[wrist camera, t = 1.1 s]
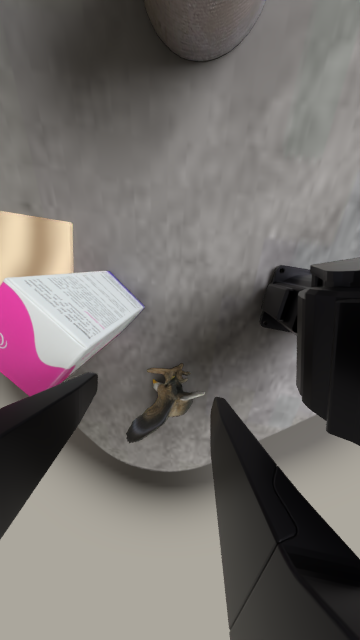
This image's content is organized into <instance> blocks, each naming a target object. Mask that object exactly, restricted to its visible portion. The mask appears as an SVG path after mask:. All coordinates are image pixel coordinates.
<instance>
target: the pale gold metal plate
mask: <svg viewBox="0 0 360 640" xmlns="http://www.w3.org/2000/svg"><path fill="white" fill-rule="evenodd" d="M68 273H73V223H70V222H64V221H58V220H52V219H46V218H40V217H34V216H28V215H22V214H15V213H9V212H3V211H0V285H1V284H2V282H3V280H4V279H5V278H10V277H26V276H40V275H54V274H68Z"/></svg>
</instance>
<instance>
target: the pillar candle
mask: <svg viewBox="0 0 360 640" xmlns="http://www.w3.org/2000/svg"><path fill="white" fill-rule="evenodd" d="M265 1H266V0H144V3H145V8H146V11H147V13H148V16H149V18H150V21H151V23H152V25H153V27H154V29H155V31H156V33H157V34H158V36H159V37H160V39H161V40H162V41H163V42H164V43H165V44H166V46H168V47H169V48H170V50H171V51H173V52H174V53H176V54H177V55H179V56H180V57H182V58H186V59H188V60H195V61H208V60H212V59H215V58H218V57H220V56H222V55H224V54H226V53H228V52H230V51H231V50H232V49H233V48H234V47H235V46H237V45H238V44H239V43H240V42H241V41H242V40H243V38H245V37H246V36H247V34H248V33H249V32H250V30H251V29H252V27H253V26H254V24H255V22H256V21H257V19H258V17H259V15H260V14H261V11H262V9H263V7H264V4H265Z"/></svg>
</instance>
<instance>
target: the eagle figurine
mask: <svg viewBox="0 0 360 640" xmlns="http://www.w3.org/2000/svg"><path fill="white" fill-rule="evenodd" d="M182 367H183V364H182V363H181V364H180V365H179V366H176V367H174V368H172V369H163V368H150V369H147V372H151V373H157V374H159V373H161V374H163V375H164V376H165V380H166V382H165V384H162V383H159V382H156V381H155V380H154V379H153V387H154V389H155V390H156V391H157V392H158V398H157V400H156V402H155V403H154V405H153V406H151V407H150V408H148V409H147V410H146V411H145V412H144V413H143V414H142V415H140V416H139V417H137V418H136V419H135V420H134V421H133V422H132V425H131V426H130V428H129V430H128V432H127V433H126V435H127V439H128V440H127V441H129V443H131V442H132V443H133V442H137V441H140V440H142V439H143V438H145V437H146V436H148V435H149V434H151V433H152V432H154V431H155V430H157V429H158V428H159V427H160V426H162V425H163V424H164V423H165V422H166V420H167V419H168V417H170V416H172V417H174V416H176V417H177V416H180V415H183V414H185V413H186V412H187V410H188V409H189V408H190V406H191V404H192V402H193V401H192V400H193V398H195V397H199V396H203V395H204V394H205V392H200V391H196V392H191V393H188V392H183V389H182V385H181V384H183V383H184V382H186V381H187V380H188V378H185V379H183V378H182V377H181V375H186V376H187V375H190V374H191V373H190V372H184V371H182ZM167 383H168V384H167Z"/></svg>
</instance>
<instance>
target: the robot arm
mask: <svg viewBox="0 0 360 640" xmlns="http://www.w3.org/2000/svg"><path fill="white" fill-rule="evenodd" d="M281 268H282V269H283V272H282V273H280V272H279V270H280V269H281ZM261 308H262V310H263V312H262V315H261V318H260V325H261V326H262V327H265V328H271V329H277V330H282V331H288V332H292V333H294V334H295V335H297V376H296V385H297V388H298V390H299V392H300V395H301V396H302V401H303V403H304V404H305V405H306V406H307V407H308V408H309V409H310V410H312V411H313V412H314V413H316V414H317V415H319V416H320V417H322V418H323V419H324V420H326V421H327V424H326V431H327V432H328V433H330V434H332V435H335V436H337V437H340V438H343V439H346V440H348V441H351V442H353V443H355V444H357V445H359V446H360V257H359V258H353V259H346V260H340V261H334V262H327V263H321V264H314V265H311V268H310V270H308V269H302V268H296V267H290V266H284V265H280V266H278V267H277V268H276V269H275V272H274V276H273V279H272V282H271V284H269V285H268V287H267V291H266V294H265V297H264V301H263V304H262V307H261ZM264 321H267V322H266V324H263V322H264ZM97 384H98V375H97V374H96V373H91V372H88V373H85V374H83V375H80V376H78V377H76V378H73V379H71V380H68V381H66V382H63V383H61V384H59V385H56V386H54V387H51V388H49V389H46V390H44V391H42V392H39V393H37V394H34V395H32V396H29V397H27V398H24V399H22V400H20V401H17V402H15V403H12V404H10V405H7V406H5V407H3V408H1V409H0V539H1V537H2V536H3V535H4V533H5V532H6V530H7V529H8V527H9V526H10V525H11V523H12V521H13V520H14V519H15V517H16V516H17V514H18V513H19V511H20V510H21V508H22V507H23V506H24V504H25V502H26V501H27V500H28V498H29V497H30V495H31V494H32V492H33V491H34V489H35V488H36V486H37V485H38V483H39V482H40V481H41V479H42V477H43V476H44V475H45V473H46V472H47V470H48V469H49V467H50V466H51V464H52V463H53V461H54V460H55V458H56V457H57V455H58V454H59V452H60V451H61V449H62V448H63V447H64V445H65V444H66V442H67V441H68V439H69V438H70V437H71V435H72V434H73V432H74V431H75V429H76V428H77V426H78V425H79V423H80V421H81V420H82V418H83V416H84V414H85V412H86V410H87V409H88V407H89V405H90V403H91V401H92V399H93V398H94V396H95V394H96V392H97ZM211 460H212V469H213V479H214V488H215V498H216V508H217V516H218V527H219V536H220V545H221V555H222V564H223V574H224V584H225V593H226V602H227V612H228V622H229V629H230V640H360V559H359V558H358V557H357V556H356V555H355V553H354V552H353V551H352V550H351V549H350V548H349V547H348V546H347V545H346V544H345V542H344V541H343V540H342V539H341V538H340V537H339V536H338V535H337V534H336V533H335V531H334V530H333V529H332V528H331V527H330V526H329V525H328V524H327V523H326V522H325V520H324V519H323V518H322V517H321V516H320V515H319V514H318V513H317V512H316V510H315V509H314V508H313V507H312V506H311V505H310V504H309V503H308V501H307V500H306V499H305V498H304V497H303V496H302V495H301V493H300V492H299V491H298V490H297V489H296V487H295V486H294V485H293V484H292V483H291V481H290V480H289V479H288V478H287V477H286V475H285V474H284V473H283V472H282V470H281V469H280V468H279V467H278V466H277V464H276V463H275V462H274V460H273V459H272V458H271V457H270V455H269V454H268V453H267V452H266V450H265V449H264V448H263V447H262V445H261V444H260V443H259V442H258V440H257V439H256V438H255V436H254V435H253V434H252V433H251V431H250V430H249V429H248V428H247V426H246V425H245V424H244V423H243V421H242V420H241V419H240V418H239V416H238V415H237V414H236V413H235V411H234V410H233V409H232V408H231V406H230V405H229V404H228V403H227V401H226V400H225V399H224V398H220V397H215V398H214V402H213V406H212V409H211Z"/></svg>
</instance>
